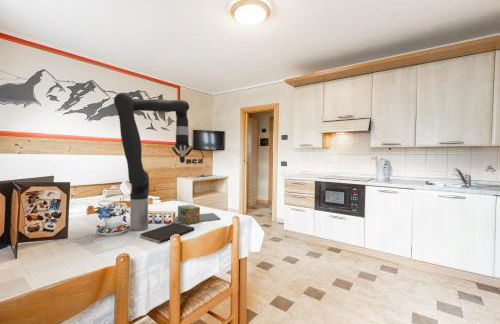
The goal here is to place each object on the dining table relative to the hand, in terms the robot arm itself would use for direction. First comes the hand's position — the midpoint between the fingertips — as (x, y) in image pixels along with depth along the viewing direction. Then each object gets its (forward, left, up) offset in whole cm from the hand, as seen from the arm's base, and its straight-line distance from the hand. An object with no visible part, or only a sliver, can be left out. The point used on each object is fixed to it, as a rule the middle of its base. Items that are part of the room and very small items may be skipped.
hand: (182, 162), depth 149 cm
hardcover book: (-10, -18, -38) cm, 43 cm away
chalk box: (+6, -6, -32) cm, 33 cm away
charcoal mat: (+9, +5, -37) cm, 38 cm away
